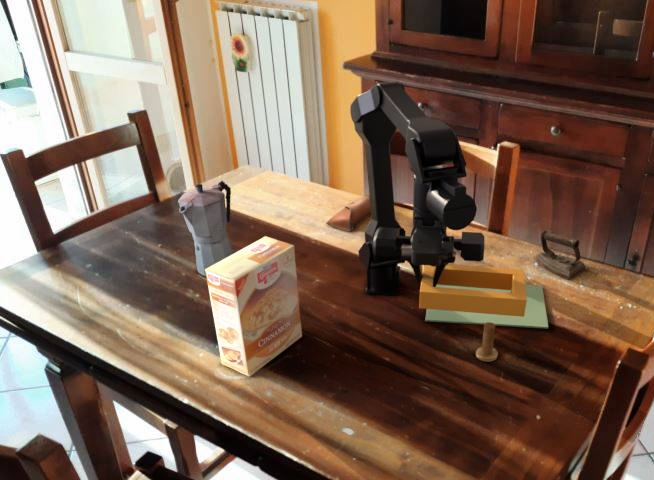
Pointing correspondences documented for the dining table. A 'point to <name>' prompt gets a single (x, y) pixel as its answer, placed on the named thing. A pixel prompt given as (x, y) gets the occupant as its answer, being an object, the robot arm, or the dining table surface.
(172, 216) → the dining table surface
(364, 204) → the sunglasses case
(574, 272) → the clothes iron
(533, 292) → the mat
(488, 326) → the peg stand
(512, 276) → the rectangular frame
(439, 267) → the robot arm
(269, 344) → the coffeecake box
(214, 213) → the moka pot
